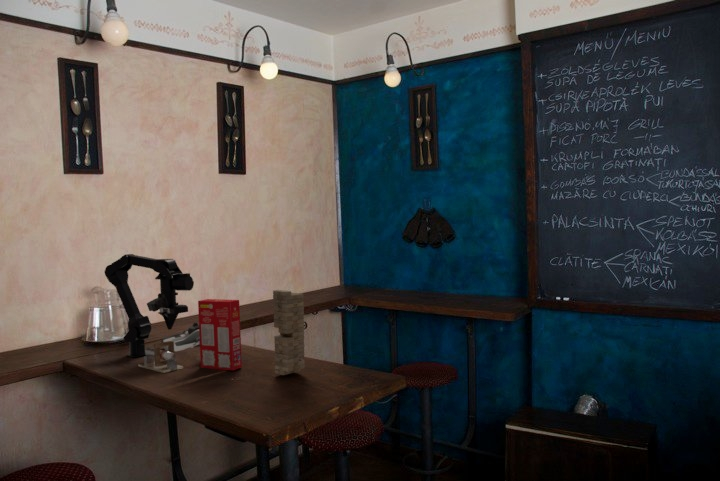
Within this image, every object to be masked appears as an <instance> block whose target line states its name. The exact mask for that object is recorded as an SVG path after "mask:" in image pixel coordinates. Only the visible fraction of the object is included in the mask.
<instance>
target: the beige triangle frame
mask: <svg viewBox="0 0 720 481" xmlns="http://www.w3.org/2000/svg"><path fill="white" fill-rule="evenodd" d="M164 346H168V352H172V353H174V354H175V352H174V341H167V342H162V343H161V342H158V343H154V344H153V349H154V361H155V366H157V367H159V366H164V365H167V361H169V360H162V361H161V359H160V350H161V348H164Z"/></svg>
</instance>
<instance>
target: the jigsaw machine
mask: <svg viewBox="0 0 720 481" xmlns="http://www.w3.org/2000/svg"><path fill="white" fill-rule="evenodd" d="M167 341H174V353H175V352H180V351H184V350H187V349H190V348H191V349H193V348H194V347H197V346H200V335H199V322H197V321H194V322H193V324H192V326H189V327H188V329H184V330H183V331H182V332H178V333H174V334H172V335H171V334H170V335H169V336H165V337H163V338H161V342H160V343H162V342H167ZM163 349H164V350H165V351H168V346H164V347H163Z"/></svg>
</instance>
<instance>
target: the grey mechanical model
mask: <svg viewBox="0 0 720 481" xmlns="http://www.w3.org/2000/svg"><path fill="white" fill-rule="evenodd" d="M145 354H146V355H143V363H139V364H137V365H138V367H139V368H143V369H147V370H152V371H154V372H158V373H162V374H165V373H170V372H174V371H179V370H182V369H184V366H183V365H180V364H178V360H176V359H175V358H176V354H175V352H174V353H172V352H168V351H165V349H164V350H161V349H160V360H162V361H166V360H169V361H167V365H164V366H159V367H157V366H155V358H154V348H151V347H148V348H145Z"/></svg>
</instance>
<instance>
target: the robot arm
mask: <svg viewBox="0 0 720 481" xmlns="http://www.w3.org/2000/svg"><path fill="white" fill-rule="evenodd" d="M133 266H135V267H136V266H137V267H140V268H145V269H146V268H147V269H151V270H152V271H153V272H155V273H158V275H156V277H155V278H154V279H155V280H159V286H160V287H159V288H160V289H159V290H160V293H158V294H157V298H154V299H152V300H149V302H147V303H146V306H147V309H148V311H149V312H154V313H155V312H157V311H159V312H157V313H158V315H161V317H163V320H164V322H165V325H166V328H167V330H168V331H169V330H172V329H173V326H174V325H175V322H176V319H177V318H178V316H179V314H184V313H188V312H189V306H188V305H186V304H179V302H177V297H176V296H178V295H179V292H176V291H183V292H184V291H185V292H187V291H192V289H193V288H194V285H195V284H194V283H195V281H194V279H193V277H192V276H191V273H190V272H188V273H183V271H182V269H180V267H179V266H178V263H177V262H176V259H174V258H152V257H149V256H148V257H147V256H141V255H137V254H133V253H129V254H123V255H122V256H121V257H120V258H118V259H116V261H113V262H112V263H111V264H109V265H107V266H106V267H105V269H104V276H105V277H106V279H107V280H108V282H109V283H110V284H111V285H112V286H114V288H115V289H116V290H115V291H116V292H117V294H118V297H119V299H120V302H121V304H122V307H123V309H124V311H125V313H126V316H127V317H128V320H127V329H128V331H127V333H126V334H125V335H124V336H123V339H124V343H129V353H126V354H125V355H126V356H127V357H131V358H137V357H142V356H143V357H144V356H147V355H146V354H145V351H146V345H145V340H147V339H149V338H150V333H151V332H152V323H151V321H150V318H149V316H148V315H143V314H142V313H141V311H140V309H139V306H138V304H137V302H136V300H135V297H134V295H133V292H132V290H131V287H130V284H129V283H128V282H129V281H128V279H129V270H131V269H132V267H133Z"/></svg>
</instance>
